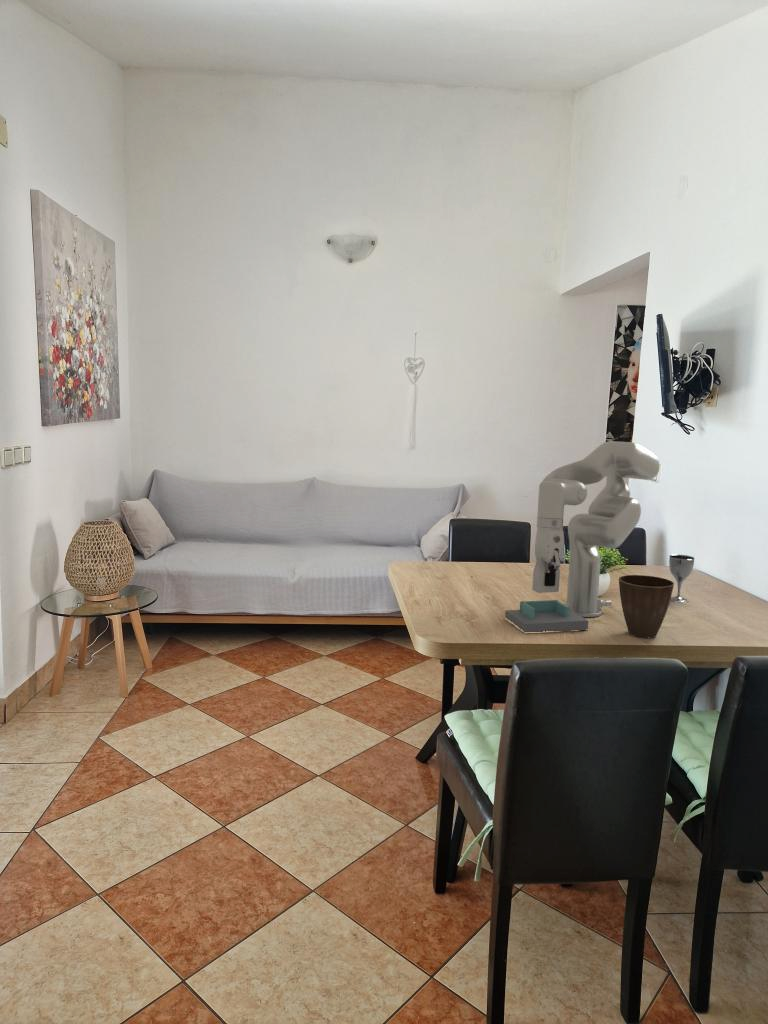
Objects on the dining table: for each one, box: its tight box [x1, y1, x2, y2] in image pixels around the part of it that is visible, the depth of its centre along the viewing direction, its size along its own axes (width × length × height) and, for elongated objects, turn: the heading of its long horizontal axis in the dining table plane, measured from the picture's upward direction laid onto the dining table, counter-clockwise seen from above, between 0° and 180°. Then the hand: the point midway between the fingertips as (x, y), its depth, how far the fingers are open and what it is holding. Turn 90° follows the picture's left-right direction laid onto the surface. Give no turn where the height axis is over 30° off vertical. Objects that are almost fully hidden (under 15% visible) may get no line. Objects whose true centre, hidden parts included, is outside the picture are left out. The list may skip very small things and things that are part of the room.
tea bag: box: [531, 558, 561, 594], centre depth 216 cm, size 4×7×10 cm, turn 107°
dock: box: [504, 599, 589, 632], centre depth 217 cm, size 20×14×6 cm
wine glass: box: [668, 554, 695, 603], centre depth 250 cm, size 8×8×15 cm
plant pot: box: [618, 574, 675, 639], centre depth 209 cm, size 15×15×16 cm
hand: (546, 583), depth 216 cm, fingers closed on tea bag, 3 cm apart
